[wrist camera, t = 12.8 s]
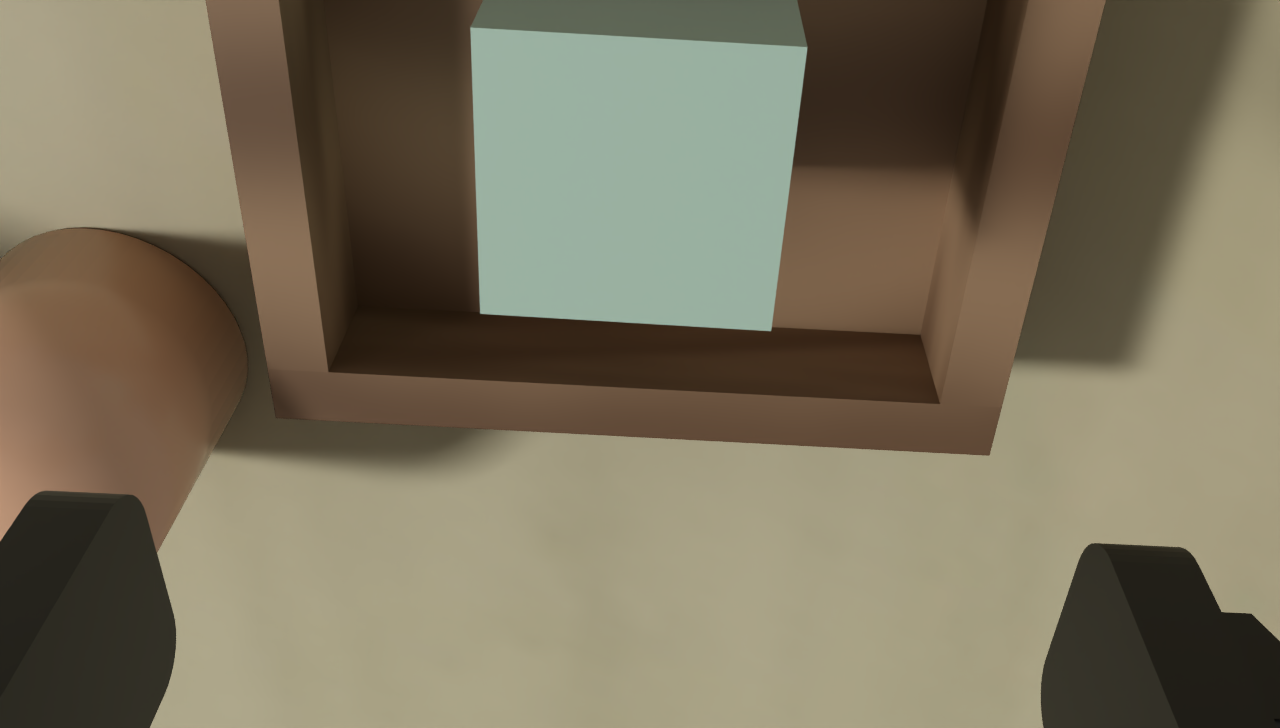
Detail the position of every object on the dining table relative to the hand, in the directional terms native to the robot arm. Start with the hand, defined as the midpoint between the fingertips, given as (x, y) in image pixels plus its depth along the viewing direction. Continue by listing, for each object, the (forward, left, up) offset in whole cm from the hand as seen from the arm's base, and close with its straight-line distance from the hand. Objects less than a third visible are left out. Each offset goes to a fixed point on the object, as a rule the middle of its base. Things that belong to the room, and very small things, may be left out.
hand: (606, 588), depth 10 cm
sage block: (0, 0, -14) cm, 14 cm away
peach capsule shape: (+8, -12, -15) cm, 21 cm away
